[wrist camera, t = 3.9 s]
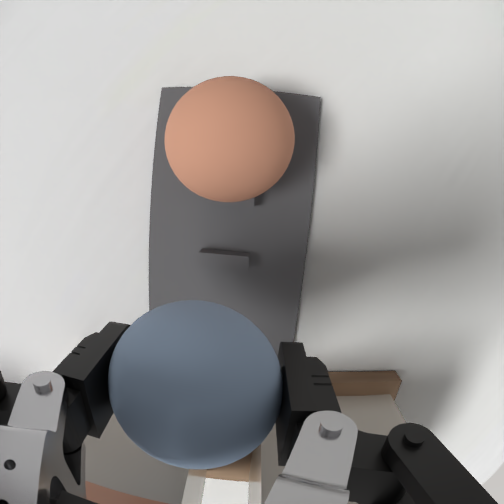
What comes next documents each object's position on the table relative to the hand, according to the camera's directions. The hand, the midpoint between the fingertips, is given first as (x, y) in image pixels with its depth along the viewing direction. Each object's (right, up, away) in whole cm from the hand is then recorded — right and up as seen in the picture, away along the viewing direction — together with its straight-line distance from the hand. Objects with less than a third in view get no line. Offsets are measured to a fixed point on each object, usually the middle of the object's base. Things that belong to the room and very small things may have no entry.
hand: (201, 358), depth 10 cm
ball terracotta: (+1, +9, +4) cm, 10 cm away
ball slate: (0, 0, +1) cm, 1 cm away
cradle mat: (0, +5, +6) cm, 7 cm away
